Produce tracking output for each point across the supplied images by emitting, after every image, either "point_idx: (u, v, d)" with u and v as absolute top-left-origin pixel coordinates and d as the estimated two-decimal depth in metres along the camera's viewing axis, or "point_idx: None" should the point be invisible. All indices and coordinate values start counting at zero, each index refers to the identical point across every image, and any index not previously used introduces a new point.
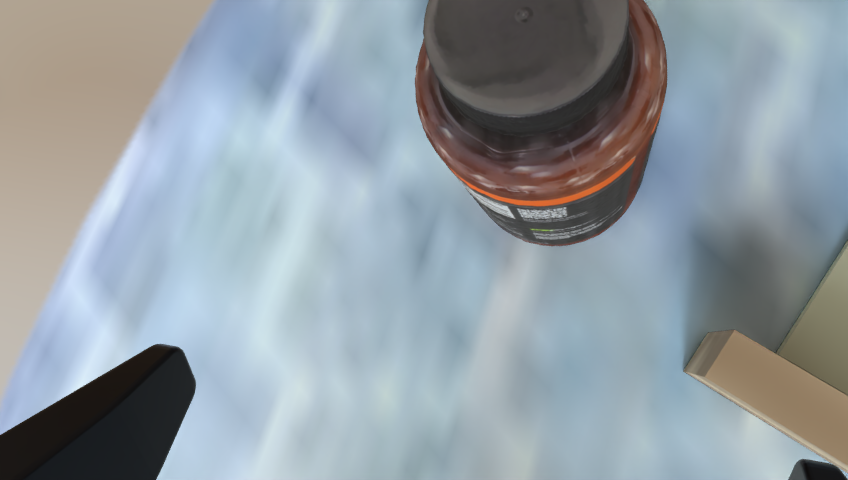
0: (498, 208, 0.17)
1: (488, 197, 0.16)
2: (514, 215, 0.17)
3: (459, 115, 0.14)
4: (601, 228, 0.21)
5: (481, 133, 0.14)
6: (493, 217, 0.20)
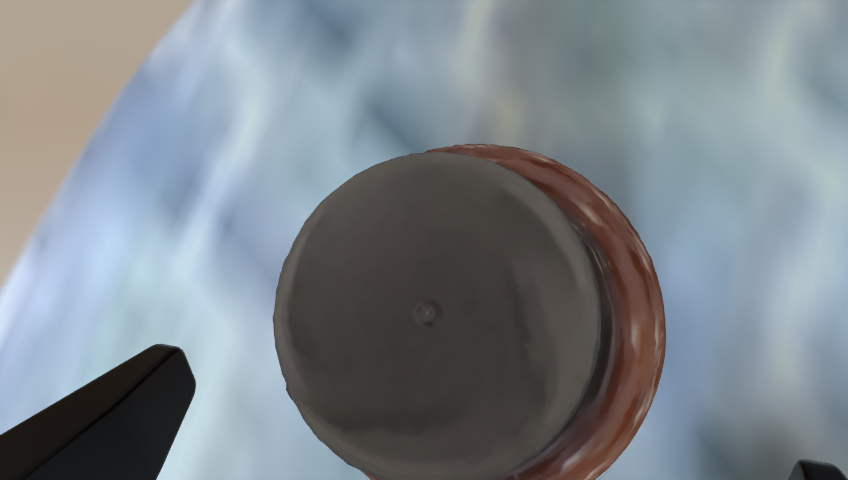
0: None
1: None
2: None
3: None
4: None
5: None
6: None
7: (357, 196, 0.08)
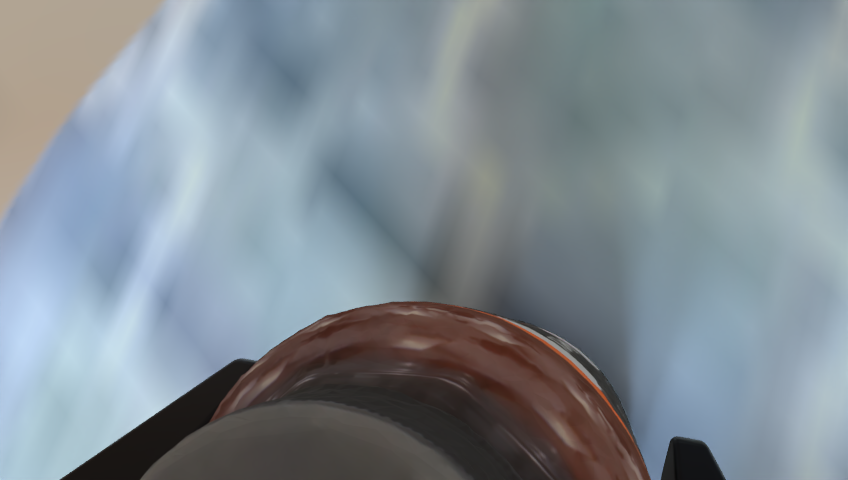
0: None
1: None
2: None
3: None
4: None
5: None
6: None
7: (200, 468, 0.05)
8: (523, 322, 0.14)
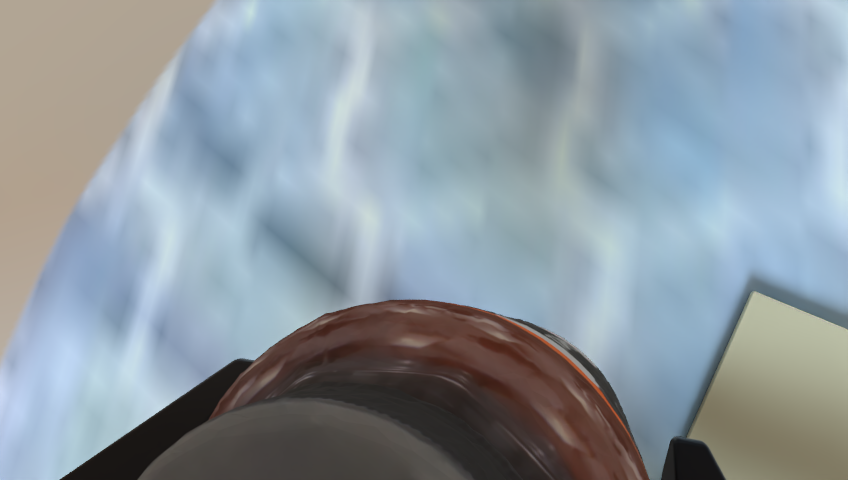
0: None
1: None
2: None
3: None
4: None
5: None
6: None
7: (200, 465, 0.05)
8: (521, 320, 0.14)
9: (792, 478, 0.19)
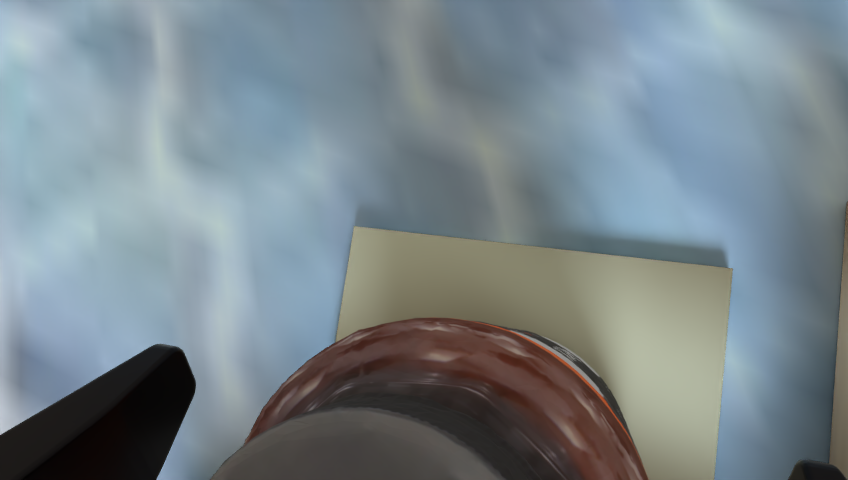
0: None
1: None
2: None
3: None
4: None
5: None
6: None
7: (268, 464, 0.06)
8: (528, 331, 0.15)
9: None
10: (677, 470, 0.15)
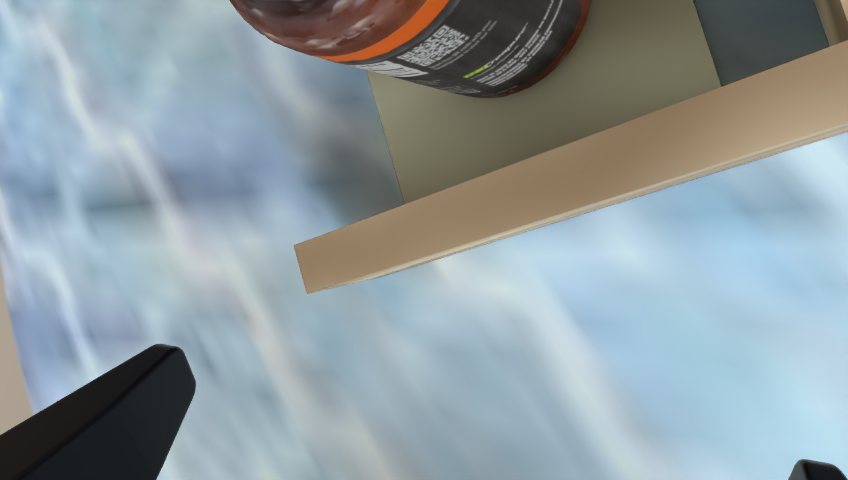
0: (393, 70, 0.14)
1: (361, 62, 0.13)
2: (419, 69, 0.14)
3: None
4: (561, 37, 0.17)
5: None
6: (433, 87, 0.17)
7: None
8: None
9: None
10: None
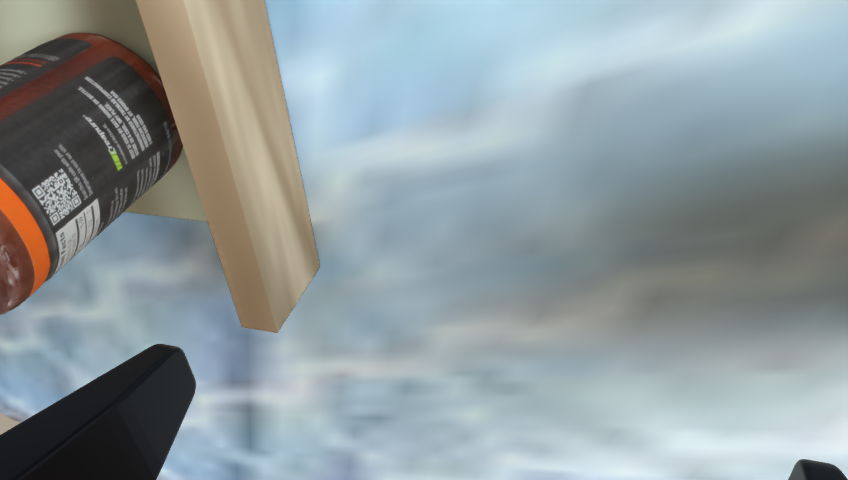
0: (79, 224, 0.19)
1: (53, 249, 0.19)
2: (85, 206, 0.19)
3: None
4: (127, 80, 0.21)
5: None
6: (141, 186, 0.22)
7: None
8: None
9: None
10: None
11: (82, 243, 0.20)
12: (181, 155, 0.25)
